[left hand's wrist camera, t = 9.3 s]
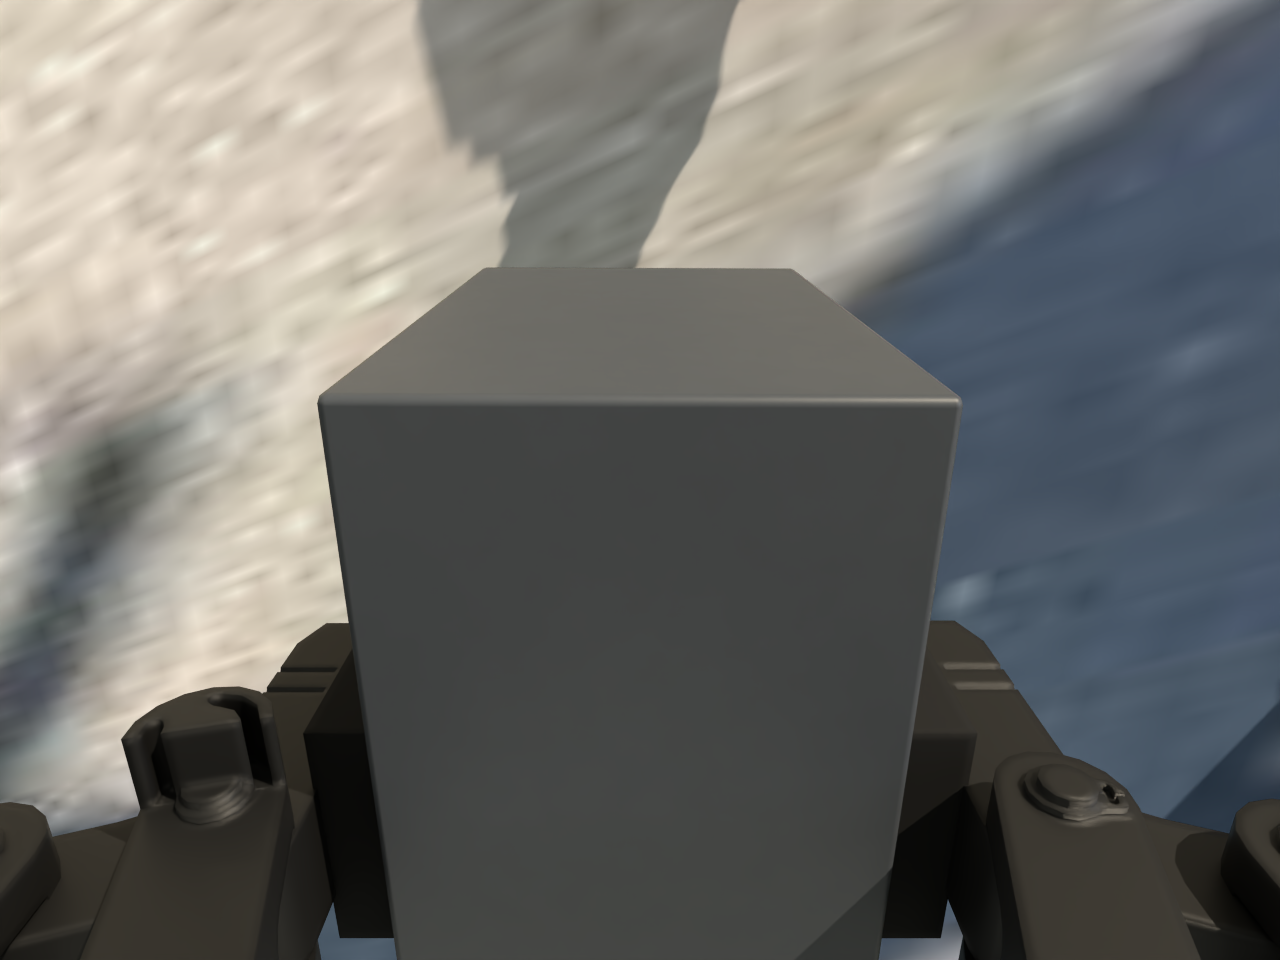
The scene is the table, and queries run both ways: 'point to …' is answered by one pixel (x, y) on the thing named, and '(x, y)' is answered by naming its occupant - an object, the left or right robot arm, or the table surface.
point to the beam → (638, 612)
